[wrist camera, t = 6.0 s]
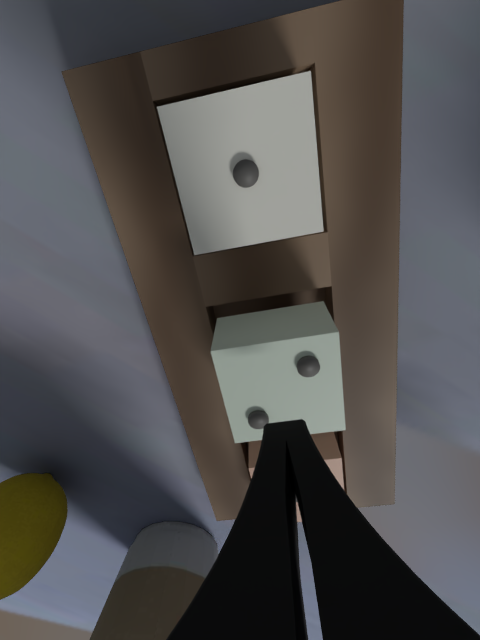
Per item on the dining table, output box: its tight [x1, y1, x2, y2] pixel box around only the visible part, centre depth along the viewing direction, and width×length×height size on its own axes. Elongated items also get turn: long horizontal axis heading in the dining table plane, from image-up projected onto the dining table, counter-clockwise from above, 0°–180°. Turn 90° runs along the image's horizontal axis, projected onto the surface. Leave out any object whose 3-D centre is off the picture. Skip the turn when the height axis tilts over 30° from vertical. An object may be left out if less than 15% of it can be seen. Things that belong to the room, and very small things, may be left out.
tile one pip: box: [157, 71, 324, 255], centre depth 13 cm, size 5×5×3 cm
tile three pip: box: [249, 432, 344, 522], centre depth 20 cm, size 5×5×3 cm
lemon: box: [0, 473, 67, 600], centre depth 21 cm, size 6×6×8 cm
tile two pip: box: [211, 301, 346, 443], centre depth 15 cm, size 5×5×3 cm
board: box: [62, 0, 404, 521], centre depth 18 cm, size 12×26×2 cm, turn 11°
